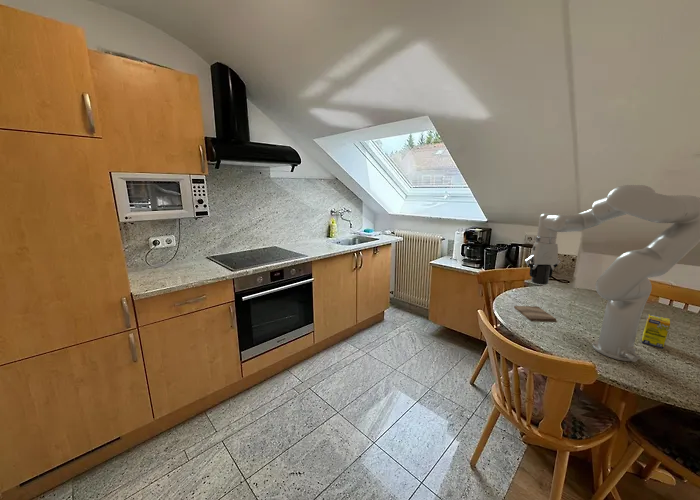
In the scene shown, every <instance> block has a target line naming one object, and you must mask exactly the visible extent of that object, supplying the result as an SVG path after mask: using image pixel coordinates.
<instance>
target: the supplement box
mask: <svg viewBox="0 0 700 500" xmlns="http://www.w3.org/2000/svg"><path fill="white" fill-rule="evenodd" d="M670 320H671V319H670V318H665V317H662V316H657V315H653V314H649V313H648V314H647V318H646V321H645V325H644V329H643V333H642V335H641V344H644V345H649V346H653V347H656V348H658V349H662V350H663V349H664V347H665V343H666V340H667V337H668V334H669V330H670V328H671V327H670V326H671V321H670Z"/></svg>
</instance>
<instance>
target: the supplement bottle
mask: <svg viewBox="0 0 700 500" xmlns="http://www.w3.org/2000/svg"><path fill="white" fill-rule="evenodd" d="M535 269H536V274H535V277H534V278H533V277H531V281H530V282H532V283H533V284H536V285H542V286H543V285H544V286H545V285H548V284H549V280H550V278H549V274H550V265H537V267H536V268H535Z"/></svg>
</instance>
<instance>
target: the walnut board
mask: <svg viewBox="0 0 700 500" xmlns="http://www.w3.org/2000/svg"><path fill="white" fill-rule="evenodd" d="M513 308H514V309H515V310H516V311H518V312H519V313H520V314H521V315H523V316H524V318H526V319H527V320H529V321H542V322H543V321H544V322H547V321H548V322H549V321H551V322H556V321H557V318H556V317H554V316H553V315H551V314H550V313H548V312H547V311H545V310H544V309H543V308H541V307H540V306H534V305H532V306H531V305H530V306H529V305H526V306H525V305H514V307H513Z"/></svg>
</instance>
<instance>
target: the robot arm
mask: <svg viewBox="0 0 700 500" xmlns="http://www.w3.org/2000/svg"><path fill="white" fill-rule="evenodd" d="M624 215H629V216H632V217H635V218H638V219H642V220H645V221H647V222H651V223H657V224H670V225H669V226H668V227H666V228H665V229H664V230H662V231H661V232H660V233H658V234H657V235H656V237H654V239H652V241H651V242H649V244H647V245H646V246H645V247H643V248H641V249H632V250H628V251H626V252H624V253H622V254H620V255H619V256H617V258H616V259H615V260H614V261H613V262H612V263H611V264H610V265H608V267H607V268H606V269H605V270H604V271H603V273H602V274H601V275H600V276H599V277H598V279H596V283H595V291H596V293H597V294H598V296H600V297H601V298H602V299H604V300H606V301H607V302H606V306H605V310H604V315H603V319H602V323H601V328H600V332H599V333H600V334H599V337H598V340H594V341H592V343H591V346H592V348H593V350H595V351H596V352H598V353H599V354H601V355H603V356H605V357H609V358H611V359H615V360H618V361H623V362H635V363H636V362H637V361H638V360H641V358H642V356H641V355H639V354H638V353H636V351H637V350H636V349H637V348H636V347H635V346H634V345H635V342H636V338H637V334H638V330H639V325H640V322H641V319H642V316H643V315H642V314H643V311H644V309H645V306H646V304H647V301H648V300H649V297H650V295H651V293H652V289H653V287H652V283H651V280H650V279H649V278H654V277H655V278H656V277H660V276H664V275H665V274H667V273H668V272H669V271H670V270H672V268H673V267H675V266H676V265H677V264H678V263H679V262H680V261H681V260H682V259H684V257H686V255H688V253H690V251H692V250H693V249H694V248H695V247H697V245H698V244H700V197H698V196H696V195H695V196H694V195H689V194H680V195H679V194H677V195H675V194H674V195H672V194H671V195H667V194H662V193H658V192H656V190H655V189H653V188H652V187H651V186H648V185H644V184H623V185H620V186H617V187H614V188H613V189H612V190H610V191H609V193H608V194H607V196H605V197H602V198H599V199H597V200H595V201H594V202H593V203H592V206H591V208H589V209H587V210H586V211H582V212H579V213H575V214H574V213H571V214H558V213H551V212H550V213H549V212H546V213H542V214H540V215H539V219H538V220H539V221H538V226H537V227H538V228H537V234H536V237H534V238H533V240H534V241H535V242H534V243H533V246H532V248H531V253H530V256H529V257H528V258H526V259H524V262H525V263H526V265H527V266H528V267H529V277H531V278H532V277H533V278H534V277H535V274H536V269H535V268H536V267H537V265H550V274H549V279H550V278H552V275H553V271H554V270H555V268H557V267H558V265H559V264H560V263H561V262H562V261H561V260H560V259H559V256H558V254H559V247H558V243H557V236H558V233H567V232H569V233H571V232H572V233H573V232H581V231H584V230H589V229H591V228H594V227H596V226H599V225H602V224H604V223H605V222H607V221H609V220H613V219H616V218H619V217H623V216H624Z"/></svg>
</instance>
